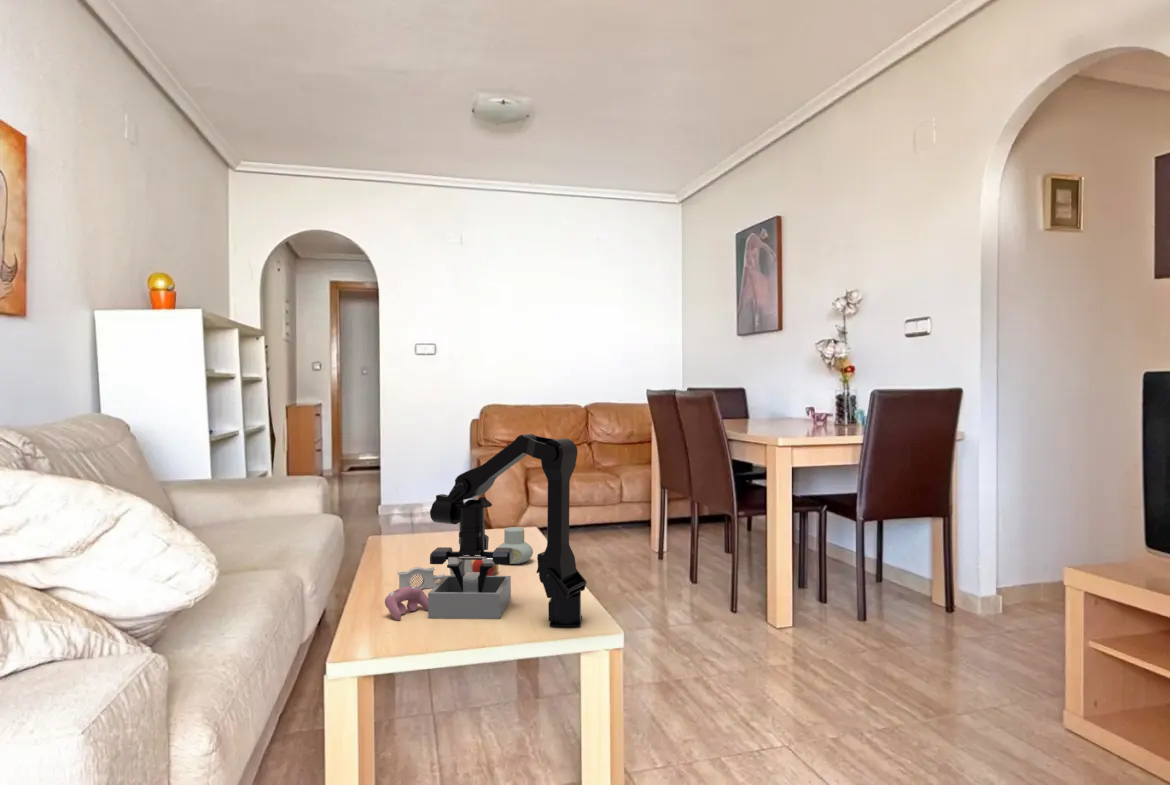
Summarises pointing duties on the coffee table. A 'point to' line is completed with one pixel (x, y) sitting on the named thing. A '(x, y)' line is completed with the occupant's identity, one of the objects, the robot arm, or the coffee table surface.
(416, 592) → the video game controller
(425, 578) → the garden wall model
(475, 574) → the grey stepped block
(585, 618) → the coffee table surface
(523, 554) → the air freshener
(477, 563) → the kendama
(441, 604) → the open box
